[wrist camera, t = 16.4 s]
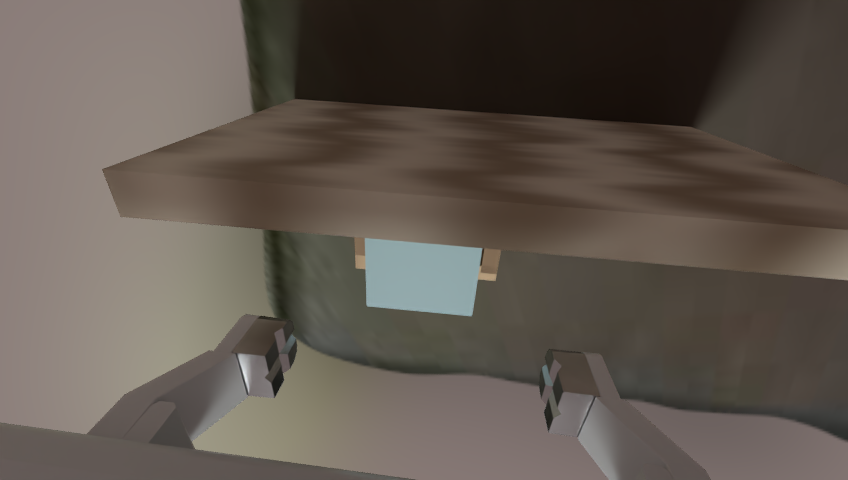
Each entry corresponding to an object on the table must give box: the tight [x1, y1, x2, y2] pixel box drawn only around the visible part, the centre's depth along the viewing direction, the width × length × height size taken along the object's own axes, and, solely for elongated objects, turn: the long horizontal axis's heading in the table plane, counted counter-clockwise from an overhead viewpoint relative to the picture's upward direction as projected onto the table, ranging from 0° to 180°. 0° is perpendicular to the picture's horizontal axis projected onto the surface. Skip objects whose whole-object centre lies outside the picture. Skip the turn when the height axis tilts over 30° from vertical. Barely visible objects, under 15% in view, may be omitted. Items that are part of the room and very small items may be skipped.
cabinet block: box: [365, 238, 482, 316], centre depth 20 cm, size 5×6×10 cm
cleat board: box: [102, 99, 848, 281], centre depth 18 cm, size 24×10×14 cm, turn 87°
